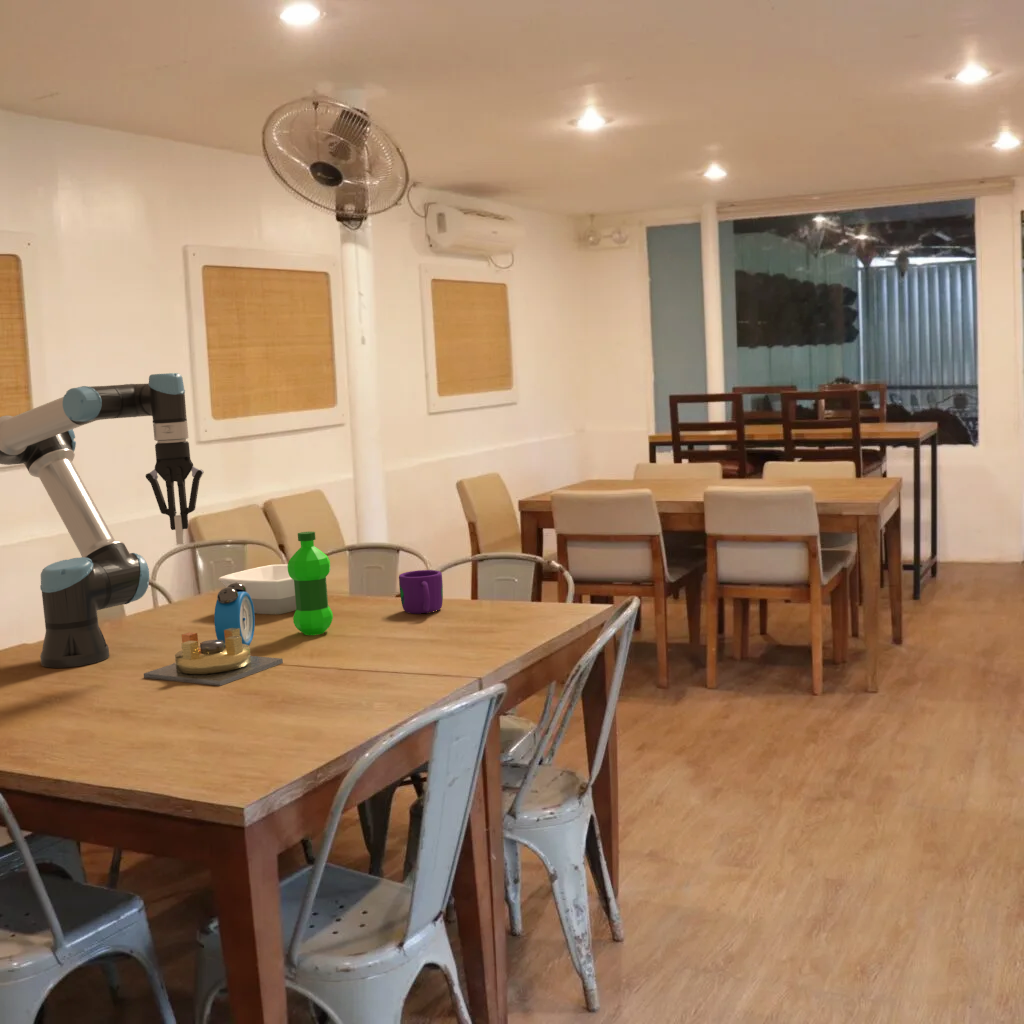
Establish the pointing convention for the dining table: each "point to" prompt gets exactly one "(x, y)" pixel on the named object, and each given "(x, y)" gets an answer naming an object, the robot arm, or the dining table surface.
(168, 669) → the spindle plate
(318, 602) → the plastic bottle
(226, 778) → the dining table surface
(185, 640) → the notched brass disc
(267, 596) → the bowl
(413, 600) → the mug
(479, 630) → the dining table surface
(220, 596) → the alarm clock
